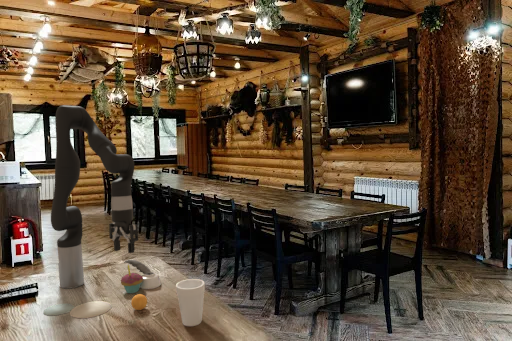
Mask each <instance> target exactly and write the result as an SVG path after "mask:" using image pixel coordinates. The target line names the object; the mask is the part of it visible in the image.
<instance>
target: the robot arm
mask: <svg viewBox="0 0 512 341" xmlns="http://www.w3.org/2000/svg"><path fill="white" fill-rule="evenodd" d="M54 119H55V137H56V138H55V139H56V147H55V148H56V149H55V166H54V189H53V190H54V191H53V196H52V197H53V198H52V205H51V212H50V224H51V227H52V229H53V230H54V231H56V232H62V231H65V232H64V234H62V235H61V236H60V237H59V238H58V239H57V242H56V246H57V257H58V258H57V259H58V264H57V265H58V278H59V279H58V280H59V285H60V288H62V289H74V288H79V287H81V286H82V285H85V276H84V275H85V274H84V273H85V272H84V262H83V261H84V259H83V248H82V238H83V215H82V212H81V210H80V208H79V207H78V206H75V205H72V206H71V205H70V206H68V202H69V198H70V195H71V194H72V192H73V190H74V189H75V187H76V185H77V183H78V182H79V180H80V175H81V160H80V158H79V155H78V152H76V150H75V148H74V146H73V144H72V140H71V130H81V131H83V132H84V133H86V135H87V143H88V145H89V147H90V149H91V150H92V152H94V153H95V154H96V155H97V156H98V157H99V159H100V160H101V163H102V165H103V167H104V169H105V170H106V171H107V172H108V173H110V174H114V175H115V174H118V178H117V179H115V180H113V181H111V184H110V191H111V192H110V193H111V194H110V195H111V200H110V201H111V202H110V208H111V209H110V210H111V211H110V212H111V222H110V223H109V225H108V226H109V228H108V229H109V231H108V232H109V238H108V239H110V240H112V241H113V250H114V251H115V252H118V251H121V237H123V238H124V239H126V241H127V253H128V254H133V253H135V242H137V241H139V232H138V231H139V230H138V225H137V224H132V223H131V222H132V221H133V219H134V209H133V198H132V180H133V175H134V171H135V160H134V158H133V157H132V156H131V155H130V154H127V153H125V154H119V153H118V154H117V150H118V149H117V146H116V145H115V144H114V142H112V141H111V140H110V139H109V138H108V137H107V136H105V134H104V133H103V132H102V131H101V129H100V128H99V126H98V125H97V124H96V122H95V121H94V119H93V117H91V115H90V113H89V112H88V111H87V109H85V108H84V107H82V106H78V105H60V106H59V107H57V109H56V112H55V118H54Z"/></svg>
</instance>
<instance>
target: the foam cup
mask: <svg viewBox="0 0 512 341" xmlns="http://www.w3.org/2000/svg"><path fill="white" fill-rule="evenodd" d="M205 290H206V284H205V281H204V280H202V279H199V278H188V279H182V280H180V281H178V282H177V283H176V284H175V292H176V293H175V294H177V296H176V297H177V299H178V306H179V312H180V317H181V322H182V325H183V326H185V327H194V326H199V324H201V323H202V320H203V310H204V309H203V308H204V299H205V298H204V297H205Z"/></svg>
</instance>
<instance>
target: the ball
mask: <svg viewBox="0 0 512 341" xmlns="http://www.w3.org/2000/svg"><path fill="white" fill-rule="evenodd" d="M130 303H131V307H132V308H133V309H134V310H135V311H141V310H144V309H145V308H146V307H147V304H148V299H147V297H146V295H144V294H142V293H138V294H136V295H134V296H133V297H132V298H131V302H130Z"/></svg>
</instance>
